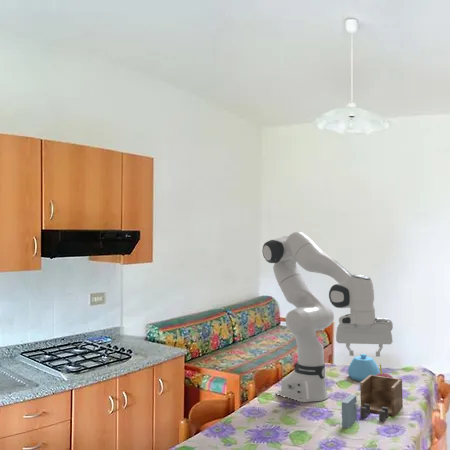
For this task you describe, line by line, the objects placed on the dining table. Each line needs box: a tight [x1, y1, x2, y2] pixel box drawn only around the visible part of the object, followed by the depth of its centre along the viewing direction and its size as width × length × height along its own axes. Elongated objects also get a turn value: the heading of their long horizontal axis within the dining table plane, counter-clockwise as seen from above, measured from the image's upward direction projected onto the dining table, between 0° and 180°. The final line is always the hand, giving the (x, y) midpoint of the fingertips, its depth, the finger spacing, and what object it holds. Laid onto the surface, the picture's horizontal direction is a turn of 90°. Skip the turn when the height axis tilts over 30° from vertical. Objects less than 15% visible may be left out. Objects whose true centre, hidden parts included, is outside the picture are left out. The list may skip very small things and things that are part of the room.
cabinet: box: [359, 375, 403, 422], centre depth 190 cm, size 13×20×11 cm, turn 147°
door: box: [341, 394, 360, 429], centre depth 178 cm, size 10×3×9 cm, turn 147°
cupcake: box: [376, 364, 394, 378], centre depth 218 cm, size 9×8×12 cm
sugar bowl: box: [347, 353, 381, 382], centre depth 236 cm, size 15×15×12 cm
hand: (364, 355), depth 179 cm, fingers open, 8 cm apart
